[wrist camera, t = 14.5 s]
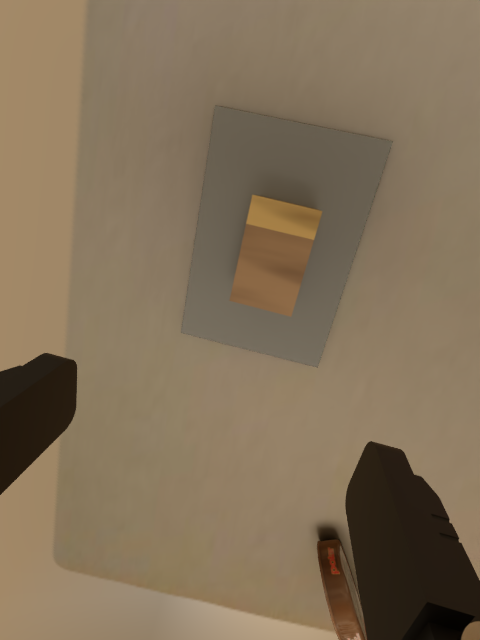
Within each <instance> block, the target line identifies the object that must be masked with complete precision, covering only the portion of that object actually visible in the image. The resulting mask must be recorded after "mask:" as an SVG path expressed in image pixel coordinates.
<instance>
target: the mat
mask: <svg viewBox="0 0 480 640" xmlns="http://www.w3.org/2000/svg"><path fill="white" fill-rule="evenodd" d="M392 143H393V141H389V140H384V139H379V138H374V137H369V136H364V135H359V134H354V133H349V132H344V131H339V130H334V129H329V128H324V127H319V126H315V125H310V124H305V123H300V122H295V121H290V120H285V119H280V118H275V117H270V116H265V115H260V114H255V113H250V112H245V111H241V110H236V109H231V108H226V107H221V106H216V105H215V109H214V116H213V123H212V129H211V136H210V143H209V149H208V156H207V163H206V169H205V176H204V183H203V189H202V196H201V203H200V209H199V216H198V223H197V229H196V236H195V242H194V249H193V256H192V262H191V269H190V276H189V282H188V289H187V296H186V302H185V309H184V316H183V322H182V329H181V333H183V334H187V335H191V336H195V337H199V338H203V339H207V340H211V341H215V342H219V343H223V344H227V345H231V346H235V347H239V348H242V349H246V350H250V351H254V352H258V353H262V354H266V355H270V356H274V357H278V358H282V359H286V360H290V361H294V362H297V363H301V364H305V365H309V366H313V367H317V368H318V365H319V362H320V359H321V356H322V353H323V350H324V347H325V344H326V341H327V338H328V335H329V332H330V329H331V326H332V323H333V320H334V317H335V314H336V311H337V308H338V305H339V302H340V299H341V296H342V293H343V290H344V287H345V284H346V281H347V278H348V275H349V272H350V269H351V266H352V263H353V260H354V257H355V254H356V251H357V248H358V245H359V242H360V239H361V236H362V233H363V230H364V227H365V224H366V221H367V218H368V215H369V212H370V209H371V206H372V203H373V200H374V197H375V194H376V191H377V188H378V185H379V182H380V179H381V176H382V173H383V170H384V167H385V164H386V161H387V158H388V155H389V152H390V149H391V146H392ZM252 195H258V196H263V197H267V198H271V199H276V200H280V201H284V202H288V203H293V204H297V205H301V206H305V207H310V208H314V209H318V210H321V211H322V215H321V218H320V221H319V225H318V228H317V232H316V235H315V238H314V242H313V245H312V248H311V252H310V255H309V259H308V262H307V265H306V269H305V272H304V275H303V279H302V282H301V286H300V289H299V292H298V296H297V299H296V302H295V306H294V309H293V313H292V316H291V317H290V316H286V315H283V314H279V313H275V312H271V311H267V310H263V309H259V308H256V307H252V306H248V305H244V304H240V303H236V302H232V301H229V300H230V296H231V291H232V287H233V282H234V277H235V273H236V268H237V263H238V259H239V254H240V250H241V245H242V240H243V236H244V231H245V227H246V222H247V217H248V213H249V208H250V204H251V199H252Z"/></svg>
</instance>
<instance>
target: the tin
mask: <svg viewBox="0 0 480 640" xmlns="http://www.w3.org/2000/svg"><path fill="white" fill-rule="evenodd" d="M317 550H318V559H319V566H320V572H321V577H322V582H323V587H324V592H325V596H326V601H327V604H328V608H329V612H330V616H331V619H332V622H333V625H334V628H335V631H336V634H337V636H338V639H339V640H367V636H366V630H365V624H364V618H363V611H362V607H361V603H360V600H359V596H358V593H357V590H356V586H355V583H354V580H353V577H352V574H351V570H350V567H349V564H348V561H347V558H346V555H345V553H344V550H343V547H342V545H341V542H340V541H339V540H337V539H335V540H327V541H318V543H317Z"/></svg>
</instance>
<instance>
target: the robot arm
mask: <svg viewBox="0 0 480 640" xmlns="http://www.w3.org/2000/svg"><path fill="white" fill-rule="evenodd" d="M76 393H77V364H76V362H75V361H74V360H71V359H67V358H64V357H60V356H56V355H52V354H49V353H44V354H42V355H40V356H38V357H36V358H35V359H33V360H31V361H30V362H28V363H27V364H25V365H23V366H17V367H14V368H10V369H8V370H4V371H1V372H0V495H1V494H2V493H3V492H4V491H5V490H6V489H7V488H8V487H9V486H10V485H11V484H12V483H13V482H14V481H15V480H16V479H17V478H18V477H19V476H20V474H22V473H23V472H24V471H25V470H26V469H27V468H28V467H29V466H30V465H31V464H32V463H33V462H34V461H35V460H36V459H37V458H38V457H39V456H40V455H41V454H42V453H43V452H44V451H45V450H46V449H47V448H48V447H49V445H51V444H52V443H53V442H54V441H55V440H56V439H57V438H58V437H59V436H60V435H61V434H62V433H63V432H64V431H65V430H66V429H67V427H68V426H69V424H70V423H71V421H72V419H73V417H74V414H75V410H76ZM346 515H347V521H348V527H349V533H350V539H351V545H352V551H353V557H354V563H355V569H356V575H357V581H358V587H359V593H360V599H361V605H362V611H363V618H364V624H365V630H366V636H367V640H480V580H479V578H478V576H477V574H476V572H475V570H474V568H473V566H472V564H471V562H470V560H469V558H468V556H467V554H466V552H465V550H464V548H463V546H462V543H459V541H458V539H459V537H458V535H457V533H456V531H455V529H454V527H453V525H452V523H449V517H448V515H447V513H446V511H445V509H444V507H443V504H442V502H441V500H440V498H439V497H438V495H437V494H436V493H435V492H434V491H433V490H432V488H431V487H430V486H429V485H428V484H427V483H426V481H425V480H424V479H423V478H422V477H421V476H417V475H414V474H413V472H412V469H411V467H410V465H409V462H408V460H407V458H406V455H405V453H404V452H403V451H402V450H401V449H398V448H394V447H390V446H386V445H383V444H379V443H375V442H372V441H371V442H368V444H367V445H366V446H365V448H364V451H363V453H362V455H361V458H360V460H359V462H358V464H357V467H356V469H355V471H354V473H353V476H352V478H351V480H350V483H349V485H348V488H347V493H346Z"/></svg>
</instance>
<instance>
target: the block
mask: <svg viewBox="0 0 480 640" xmlns="http://www.w3.org/2000/svg"><path fill="white" fill-rule="evenodd" d="M321 215H322V211H321V210H318V209H314V208H310V207H305V206H301V205H297V204H293V203H288V202H284V201H280V200H276V199H271V198H267V197H263V196H258V195H252V199H251V204H250V208H249V213H248V217H247V222H246V227H245V231H244V236H243V240H242V245H241V250H240V254H239V259H238V263H237V268H236V273H235V277H234V282H233V287H232V291H231V296H230V300H229V301H232V302H236V303H240V304H244V305H248V306H252V307H256V308H259V309H263V310H267V311H271V312H275V313H279V314H283V315H286V316H290V317H291V316H292V313H293V309H294V306H295V302H296V299H297V296H298V292H299V289H300V286H301V282H302V279H303V275H304V272H305V269H306V265H307V262H308V259H309V255H310V252H311V248H312V245H313V242H314V238H315V235H316V232H317V228H318V225H319V221H320V218H321Z"/></svg>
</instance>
